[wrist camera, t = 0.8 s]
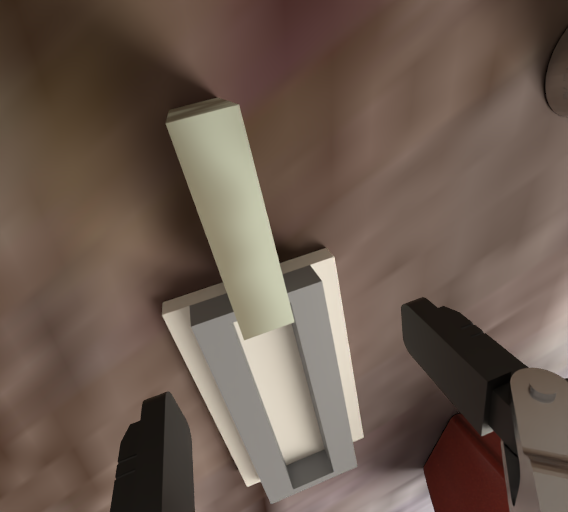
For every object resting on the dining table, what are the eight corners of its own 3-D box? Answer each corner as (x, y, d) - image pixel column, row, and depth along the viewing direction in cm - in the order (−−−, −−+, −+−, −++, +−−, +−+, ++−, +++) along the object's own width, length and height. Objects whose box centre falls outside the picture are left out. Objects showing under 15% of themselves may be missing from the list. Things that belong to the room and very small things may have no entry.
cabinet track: (326, 247, 34) (348, 271, 29) (356, 424, 47) (375, 458, 43) (162, 302, 31) (160, 337, 27) (244, 471, 45) (251, 512, 41)
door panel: (217, 97, 25) (238, 104, 17) (262, 258, 32) (294, 322, 24) (168, 109, 25) (165, 123, 16) (225, 270, 32) (244, 340, 23)
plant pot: (444, 397, 50) (554, 524, 36) (534, 393, 57) (658, 499, 42) (397, 483, 57) (472, 619, 43) (482, 470, 64) (572, 584, 49)
